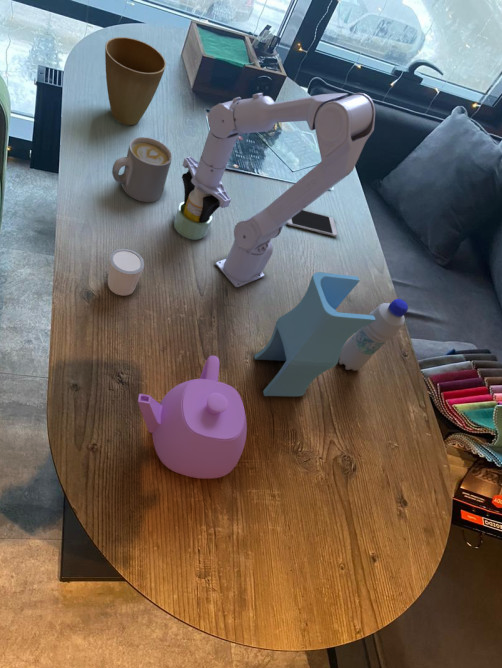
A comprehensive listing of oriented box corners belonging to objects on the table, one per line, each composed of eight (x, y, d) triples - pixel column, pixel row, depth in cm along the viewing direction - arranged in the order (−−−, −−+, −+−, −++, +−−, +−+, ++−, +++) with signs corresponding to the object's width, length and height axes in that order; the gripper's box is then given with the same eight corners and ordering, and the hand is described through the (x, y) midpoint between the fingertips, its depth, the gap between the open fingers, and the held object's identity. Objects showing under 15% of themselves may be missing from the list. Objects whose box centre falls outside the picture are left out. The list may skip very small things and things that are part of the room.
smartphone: (284, 204, 136) (333, 217, 140) (283, 206, 137) (332, 219, 141) (287, 223, 132) (337, 235, 136) (286, 225, 133) (336, 237, 137)
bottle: (362, 357, 116) (418, 299, 99) (358, 379, 112) (416, 322, 96) (336, 345, 115) (388, 284, 99) (331, 365, 111) (385, 306, 95)
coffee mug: (156, 176, 127) (166, 139, 119) (166, 203, 123) (176, 167, 115) (104, 171, 122) (110, 132, 114) (112, 200, 117) (119, 161, 109)
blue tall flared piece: (306, 396, 104) (376, 320, 84) (264, 395, 101) (326, 316, 81) (295, 357, 109) (358, 276, 89) (253, 355, 106) (310, 270, 86)
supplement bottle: (192, 233, 117) (205, 199, 110) (176, 219, 118) (187, 184, 110) (207, 225, 121) (220, 191, 113) (190, 211, 121) (202, 177, 114)
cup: (192, 212, 124) (198, 197, 120) (213, 234, 122) (219, 220, 118) (166, 219, 120) (171, 204, 116) (187, 243, 118) (192, 228, 114)
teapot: (131, 378, 94) (149, 328, 82) (233, 398, 98) (263, 353, 86) (119, 476, 83) (136, 435, 71) (233, 493, 88) (268, 457, 76)
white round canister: (132, 302, 103) (139, 278, 98) (100, 290, 102) (105, 265, 97) (141, 280, 107) (148, 255, 101) (110, 268, 106) (115, 243, 100)
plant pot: (96, 94, 137) (105, 30, 124) (150, 108, 142) (164, 47, 129) (96, 127, 130) (105, 62, 117) (153, 140, 134) (168, 78, 122)
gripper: (179, 141, 106) (163, 195, 117) (221, 186, 102) (201, 237, 113) (204, 136, 110) (187, 189, 121) (245, 179, 106) (224, 230, 117)
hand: (195, 212), depth 117 cm, fingers closed on supplement bottle, 5 cm apart
